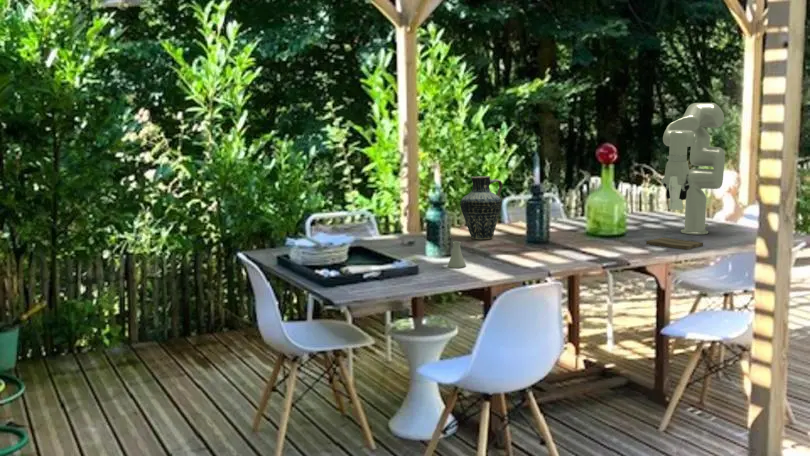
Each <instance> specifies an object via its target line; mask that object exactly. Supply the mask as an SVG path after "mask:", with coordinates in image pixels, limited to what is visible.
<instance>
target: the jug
mask: <svg viewBox="0 0 810 456" xmlns="http://www.w3.org/2000/svg"><path fill="white" fill-rule="evenodd" d="M471 183H472V190H471V191H470V192H469V193H468V194H466V195H464V196H462V198H461V200H460V203H459V204H460V210H461V212H462V215H463V218H464V220H465V223H466V227H467V230H468V232H469V236H470V238H472V239H473V240H474V239H475V240H490V239H493V238H494V234H495V230H496V227H497V223H498V221H499V217H500V214H501V210H502V204H503V203H502V199H501V198H502V197H501V193H502V190H503V187H504V186H503V185H504V184H503V182H502V180H500V179H498V178H495V179H491V176H490V175H483V176H482V175H478V176H477V175H475V176H471ZM494 183H498V189H497V193H496V194H495V193H493V192H492V191H491V189H490V185H493V184H494Z"/></svg>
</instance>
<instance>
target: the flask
mask: <svg viewBox="0 0 810 456" xmlns="http://www.w3.org/2000/svg"><path fill="white" fill-rule="evenodd" d="M461 244H462V242H461V241H453V242H452V246H453V247H452V252H451V255H450V258H449V261H448V264H447V268H453V269H461V268H466V267H467V264H466V262H465V258H464V256H463V254H462V249H461Z"/></svg>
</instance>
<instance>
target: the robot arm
mask: <svg viewBox="0 0 810 456" xmlns="http://www.w3.org/2000/svg"><path fill="white" fill-rule="evenodd" d="M724 120H725V115H724V111H723V110H722V109H721V107H720V106H719V105H718V104H717V103H715V102H694V103H693V102H692V103H691V104H689V105H688V107H687V108H686V110H685V112H684V114H683V115H682V117H680V118H678V119H676V120H674V121H672V122H670V123H669V124H668V125H667V126H666V127H665V128H666V129H665V130H664V133H663V136H662V142H663V144H664V145H665V146H666V147H668V149H669V151H668V153H669V154H668V155H667V156H666V159H667V160H668V161H667V162H666V164H665V170H664V177H663V178H662V179H660V183H661V185H663V187H664V189H665V190H666V193H665V194H666V199H668V200H670V195H669V181H670V176H677V182H678V185H682V191H681V200H682V201H684V200H685V205H684V209H685V210H684V228H683V229H680V233H681V234H687V235H697V236H698V235H707V234H708V233H709V230H707V229H706V228H709V224H708V223H706V217H707V214H706V213H707V212H706V211H707V196H706V194H705V192H704V191H703V190H705V189H706V190H718V189H721V187H722V185H723V180H724V171H725V161H726V154H725V151H724V149H723V148H722V147H719V146H710V145H711V136H710V135H709V133H708V131H707V130H706V129H705V128H715V129H716V128H721V127H722V126H723V125H724ZM689 147H690V153H689V154H690V155H689V162H690V164H691V165H692V166H694V167H707V168H691V169H690V167H689V162H688V148H689ZM709 167H712V168H711V169H710V168H709ZM684 185H685V187H684Z"/></svg>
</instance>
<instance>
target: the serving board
mask: <svg viewBox="0 0 810 456" xmlns="http://www.w3.org/2000/svg"><path fill="white" fill-rule="evenodd" d="M645 242H646V243H645V244H646V245H648V244H650V245H649V246H656V247H664V248H669V249H670V248H671V249H672V248H673V249H677V250H684V251H685V250H686V251H687V250H692V249H695V248H700V247H704V242H700V241H693V240H687V239H686V240H684V239H677V238H671V237H670V238H669V237H659V238H654V239H650V240H646V241H645Z"/></svg>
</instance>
